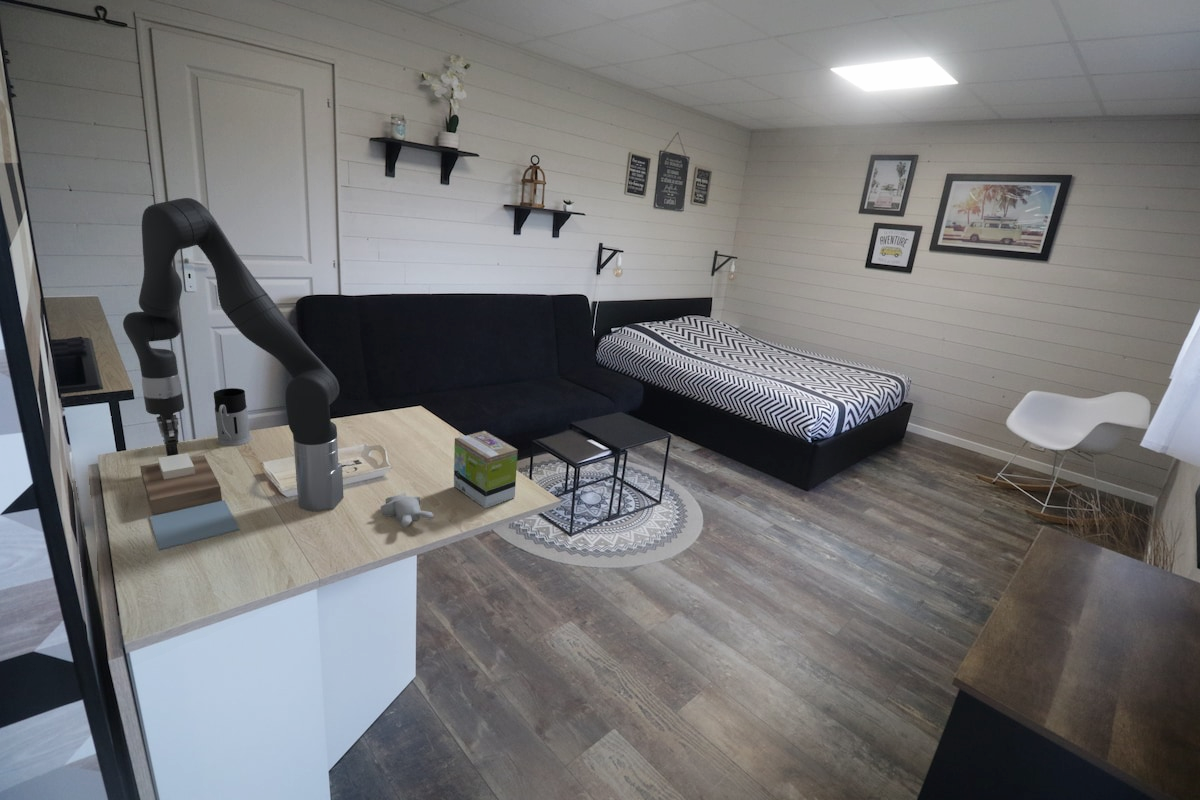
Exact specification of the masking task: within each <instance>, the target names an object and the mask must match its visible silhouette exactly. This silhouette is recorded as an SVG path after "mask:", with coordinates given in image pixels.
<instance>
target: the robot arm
mask: <svg viewBox="0 0 1200 800" xmlns="http://www.w3.org/2000/svg"><path fill="white" fill-rule="evenodd" d="M141 236H142V237H141V238H142V239H141V241H142V255H143V279H142V283H141V288H140V292H139V297H138V305H139V308H140V309H141V310H142V311H134V312H133V311H132V312H129V313H127V314H126V315H125V317H124V319H123V322H122V325H123V330H124V332H125V334H126V336H127V338H128V339H129V342H130V343H131V344H132V345H131V346H133V349H134V351H135V353H136V356H137V359H138V363H139V366H140V373H141V388H142V393H143V395H142V396H143V400H144V406H145V411H146V412H147V414H149V415H154V416H156V417H155V419H156V422H157V425H158V428H159V433H160V435H161V437H162V438H163V441H162V442H163V443H164V445H165V451H166V456H172V455H178V454H179V450H178V444H179V427H178V426H179V419H178V417H177V414H175V413H178V412H181V411H183V410H184V409H185V402H184V395H183V390H182V389H183V387H182V382H181V379H180V376H179V374H180V373H179V369H178V361H177V357H176V353H175V352H174V351H173V350H171V349H165V348H154V347H151V345H150V342H157V341H158V342H159V341H167V340H172V339H175V338H177V337H179V335H180V333H181V331H182V325H181V321H180V318H179V316H180V315H179V307H178V306H179V304H180V300H181V296H182V292H183V282H182V279H181V277H180V275H179V273H178V272H177V270H176V269H175V268H174V266H173V262H174V259H175V256H176V254H177V252H178V251H179V250H184V249H188V248H191V247H195V246H197V247H198V248H199V249H200V250H201V251H202V253H203V254H204V255H205V256H206V258H207V260H208V261H209V262H210V264H211V267H212V269H213V271H214V275H215V280H216V287H217V288H216V289H217V296H218V301H219V304H220V308H221V310H222V311H223V313H224V314H225V315H226V317H227V318H228V319H229V320H230V321H231V323H232V324H233V325H234V327H235V328H236V329H237V330H238V331H239V332H240V334H242V335H243V336H244V338H246V339H247V340H249V341H250V342H252V343H253V344H254V345H256V346H257V347H259V348H260V349H261V350H264V351H265V352H267V353H268V354H270V355H271V356H273V357H274V358H275V359H277V361H278V362H280V363H281V365H283V366H284V368H285V369H286V371H287V372H288V374H289V375H290V376H291V377H292V379H291V380H290V382H288V384H287V386H286V389H285V407H286V416H287V422H288V428H289V430H290V432H291V433H292V437H293V439H292V441H293V451H294V465H295V480H296V481H295V482H296V491H297V496H296V497H297V503H298V507H299V508H300V509H302V510H304V511H309V512H319V511H320V512H321V511H325V510H334V509H335V508H336V507H337V506H338V505H339V503H340V502H341V501H343V499H344V479H343V478H344V477H343V465H342V463H341V462H340V463H339V450H338V427H337V425H336V424H335V423H334V422H332V420H331V411H330V405H331V404H332V403H333V402H334V401H336V399H337V398H338V396H339V394H340V384H339V381H338V379H337V377H336V376H335V375H334V373H333V372H332V371H331V370H330V369H329V368H328V367H327V365H326V364H325V363H323V362H322V360H321V359H320V358H318V356H317V355H316V354H315V353H314V352H313V351H312V350H311V349H310V348H309V346H308V345H307V343H306V342H304V339H302V338H301V336H300V335H299V334H298V332H297V331H296V329H295V328H294V327H293V325H291V323H290V322H289V321H288V320H287V318H286V316H285V315H284V314H283V313H282V312H281V309H280V308H279V307H278V306H277V305H276V303H275V302H274V301H273V299H272V298H271V296H270V295H268V293H267V292H266V290H264V288H263V287H262V286H261V285H260V283H259V282H258V280H256V278H255V277H254V275H253V274H252V272H251V271H250V270H249V269H248V267H247V266H246V265H245V263H244V262H243V260H242V259H241V258H240V256H239V255H238V253H237V252H236V250H235V249H234V247H233V245H232V244H231V242H230V240H228V238H227V236H226V235H225V233H224V232H223V230H222V228H221V226H220V225H219V224H218V222H217V221H216V219H215V218H214V216H213V215H212V213H210V211H209V210H208V209H207V208H206V207H205V205H203V204H202V203H201V202H200V201H198V200H196V199H193V198H192V197H183V198H176V199H174V200H168V201H164V202H159V203H158V202H157V203H154V204H151V205H149V206H147V207H146V208H145V209H144V211H143V213H142V217H141ZM157 415H158V416H157Z"/></svg>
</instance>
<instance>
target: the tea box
mask: <svg viewBox="0 0 1200 800" xmlns="http://www.w3.org/2000/svg"><path fill="white" fill-rule="evenodd" d="M518 452H519V451H518V449H517V448H515V447H514V446H512V445H511V444H509V443H507V442H505V441H503V440H502V439H500V438H499V437H496V436H495V435H493V434H491V433H489V432H488V431H485V430H483V431H478V432H474V433H471V434H467V435H463V436H459V437H455V438H454V453H453V456H454V460H453V461H454V465H453V486H454V487H455V488H457V489H458V490H459V491H461V492H462V493H463V494H465V495H466V496H467V497H469V498H470V499H471V500H473V501H475V502H476V503H477V504H478V505H480V506H481V507H482V506H483V509H488V508H491V507H493V505H494V506H496V504H497V505H499V504H502V503H504V502H503V501H505V502H507V501H506V500H508V501H509V499H510V500H513V499H515V497H516V482H517V465H518ZM512 498H513V499H512ZM501 502H502V503H501ZM498 503H499V504H498ZM490 506H491V507H490Z"/></svg>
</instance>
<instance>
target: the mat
mask: <svg viewBox="0 0 1200 800" xmlns="http://www.w3.org/2000/svg"><path fill="white" fill-rule="evenodd" d="M149 519H150V522H151V526H152V529H153V534H154V537H155V541H156V544H157V548H158V550H159V551H161V550H165V549H170V548H173V547H178V546H180V545H181V546H182V545H185V544H188V543H189V544H190V543H193V542H197V541H201V540H205V539H208V538H212V537H216V536H221V535H224V534H229V533H232V532H236V531H239V530H240V527H239V526H238V523H237V522H236V520H235V518H234V516H233V514H232V512H231V510H230V508H229V506H228V504H227V502H226V500H225V499H222V501H218V502H214V503H209V504H205V505H200V506H196V507H191V508H187V509H182V510H178V511H173V512H169V513H164V514H159V515H155V516H153V515H151V516H149Z"/></svg>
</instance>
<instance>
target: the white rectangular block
mask: <svg viewBox="0 0 1200 800" xmlns="http://www.w3.org/2000/svg"><path fill="white" fill-rule="evenodd" d="M190 458H191V456H190V454H189V453H188V452H185V453H178V455H172V456H167V455H166V456H162V457H157V461H158V462H157V463H159V467H160V469H161V472H162V475H163V478H164V479H169V478H175V477H180V476H185V475H191V474H195V470H194V465H193V463H192V461H191V459H190Z"/></svg>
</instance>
